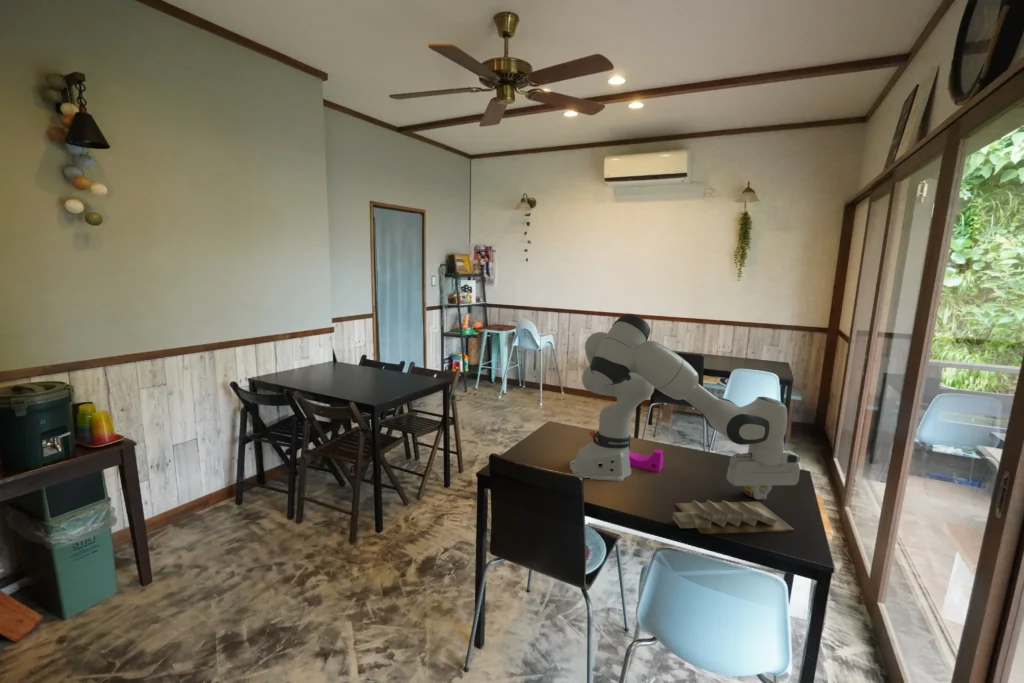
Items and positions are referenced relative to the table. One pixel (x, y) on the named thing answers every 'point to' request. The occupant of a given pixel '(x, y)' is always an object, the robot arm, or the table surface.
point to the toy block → (647, 460)
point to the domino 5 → (757, 513)
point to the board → (743, 526)
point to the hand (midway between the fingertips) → (759, 498)
